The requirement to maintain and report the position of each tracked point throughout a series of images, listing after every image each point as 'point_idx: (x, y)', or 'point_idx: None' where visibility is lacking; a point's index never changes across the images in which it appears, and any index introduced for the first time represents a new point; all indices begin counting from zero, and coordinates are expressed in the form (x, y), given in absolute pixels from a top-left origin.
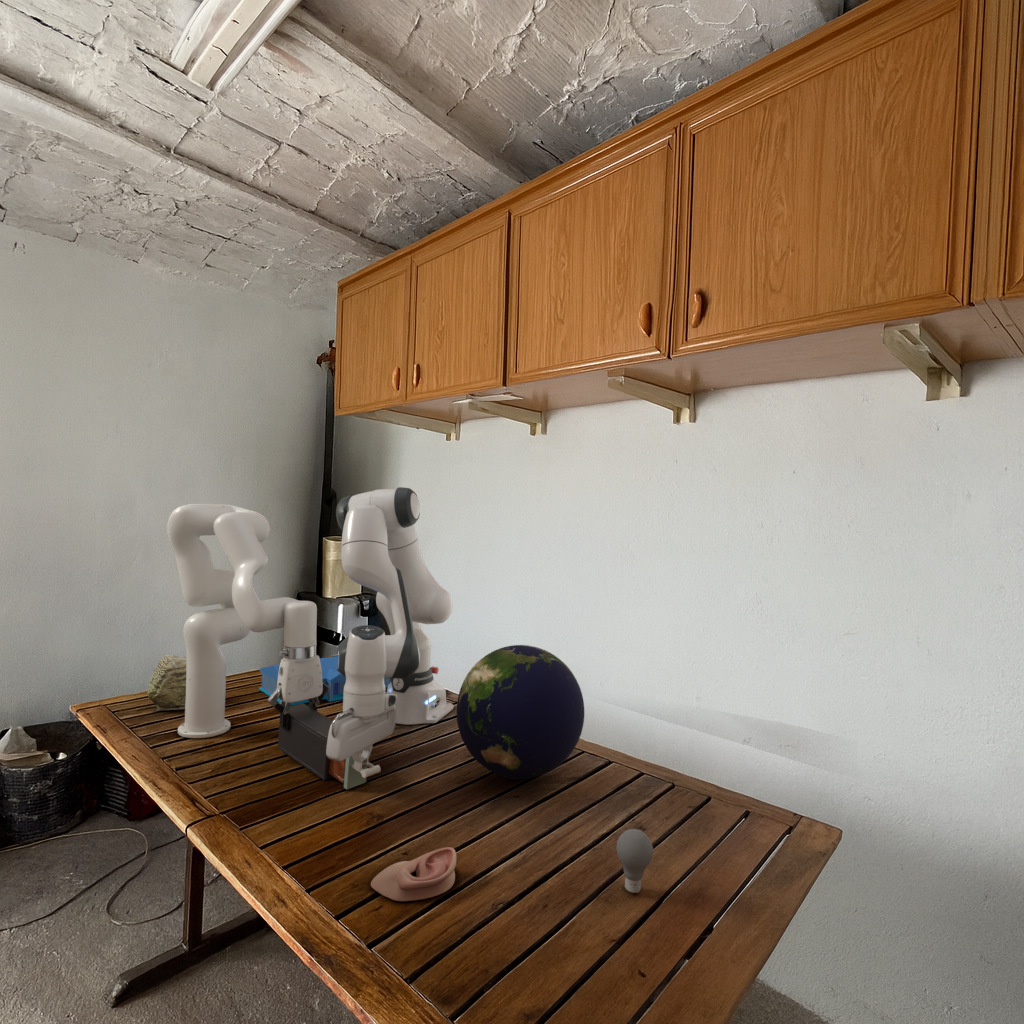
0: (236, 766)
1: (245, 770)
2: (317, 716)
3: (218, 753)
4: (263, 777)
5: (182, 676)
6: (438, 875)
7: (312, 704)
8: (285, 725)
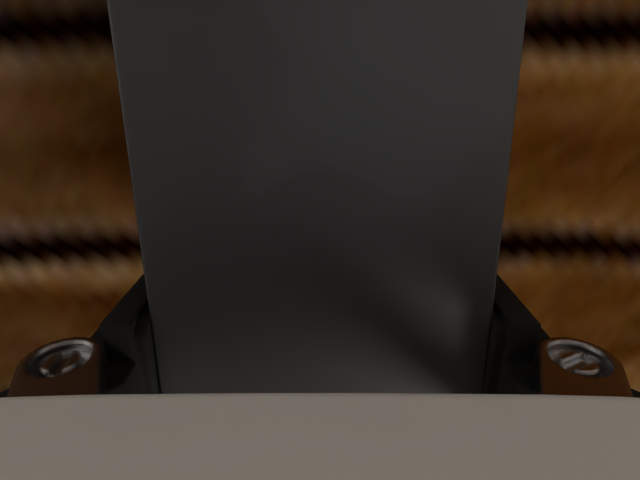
0: (621, 283)
1: (628, 211)
2: (221, 52)
3: None
4: (636, 56)
5: None
6: None
7: (124, 392)
8: None
